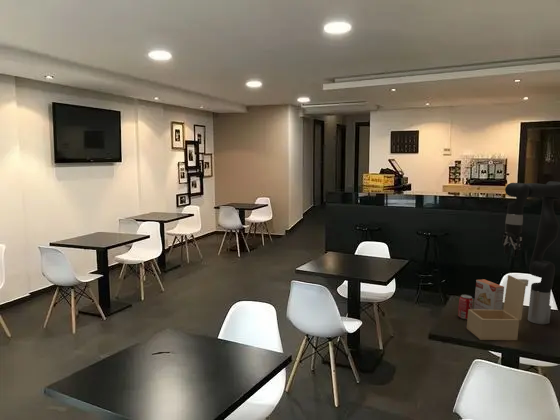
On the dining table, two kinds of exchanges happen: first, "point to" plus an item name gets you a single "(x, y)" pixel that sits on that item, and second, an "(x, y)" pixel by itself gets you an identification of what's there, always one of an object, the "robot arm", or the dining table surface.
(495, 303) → the cracker box
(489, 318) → the carton
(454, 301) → the dining table surface
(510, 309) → the lid flap
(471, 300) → the soda can
